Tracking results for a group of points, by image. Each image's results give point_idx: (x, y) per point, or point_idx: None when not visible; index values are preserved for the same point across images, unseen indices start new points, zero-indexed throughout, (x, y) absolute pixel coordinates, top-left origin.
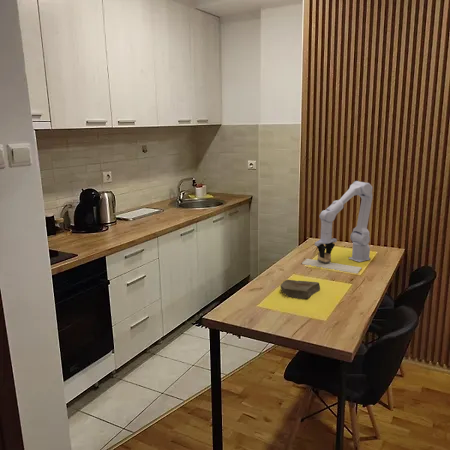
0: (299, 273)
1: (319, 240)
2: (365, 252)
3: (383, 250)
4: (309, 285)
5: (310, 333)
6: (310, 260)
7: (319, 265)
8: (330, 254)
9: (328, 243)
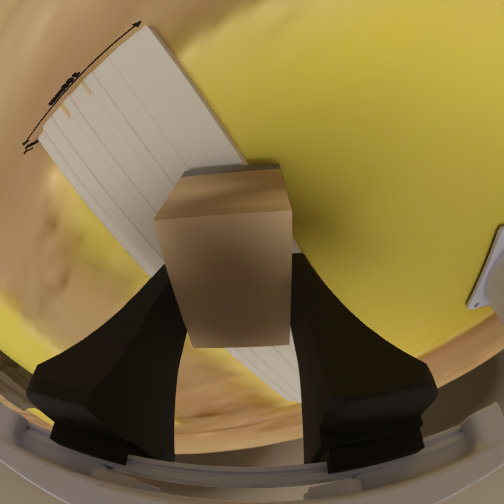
0: (5, 284)
1: (65, 497)
2: None
3: None
4: (28, 403)
5: (35, 422)
6: (138, 98)
7: (147, 259)
8: (277, 345)
9: (324, 452)
